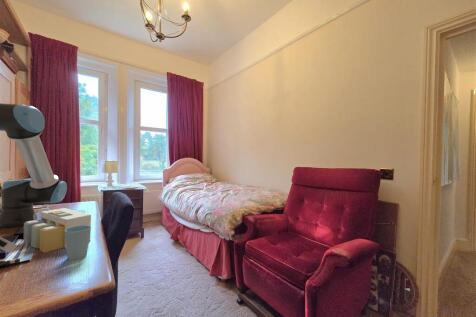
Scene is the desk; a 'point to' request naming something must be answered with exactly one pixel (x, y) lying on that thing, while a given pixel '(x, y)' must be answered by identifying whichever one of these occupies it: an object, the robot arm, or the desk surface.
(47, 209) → the watch
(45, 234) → the yellow square block
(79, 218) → the console
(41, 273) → the desk surface
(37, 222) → the grey square block
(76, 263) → the desk surface
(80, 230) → the cup
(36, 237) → the pale green block
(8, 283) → the desk surface
